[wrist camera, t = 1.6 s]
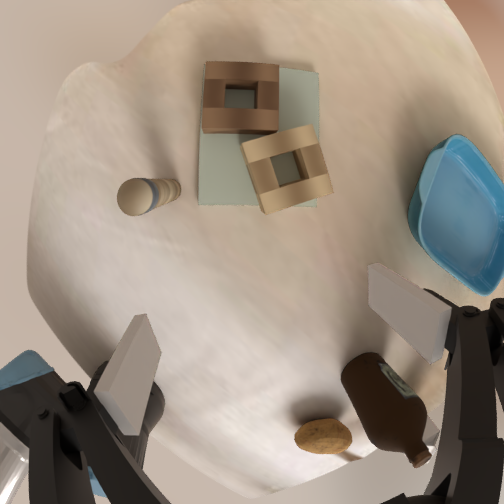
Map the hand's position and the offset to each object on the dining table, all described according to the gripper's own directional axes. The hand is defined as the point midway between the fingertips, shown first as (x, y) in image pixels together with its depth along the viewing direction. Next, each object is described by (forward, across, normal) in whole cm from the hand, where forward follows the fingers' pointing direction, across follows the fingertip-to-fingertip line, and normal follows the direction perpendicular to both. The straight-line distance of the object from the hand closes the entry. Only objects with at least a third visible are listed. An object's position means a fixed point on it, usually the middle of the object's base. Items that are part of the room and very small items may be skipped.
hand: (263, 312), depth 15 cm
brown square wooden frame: (+23, +3, +18) cm, 29 cm away
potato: (+24, +8, -45) cm, 52 cm away
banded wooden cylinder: (+24, -8, +8) cm, 26 cm away
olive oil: (+24, +18, -32) cm, 44 cm away
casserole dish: (+24, +42, -5) cm, 49 cm away
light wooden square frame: (+23, +7, +8) cm, 25 cm away
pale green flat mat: (+24, +6, +13) cm, 28 cm away
